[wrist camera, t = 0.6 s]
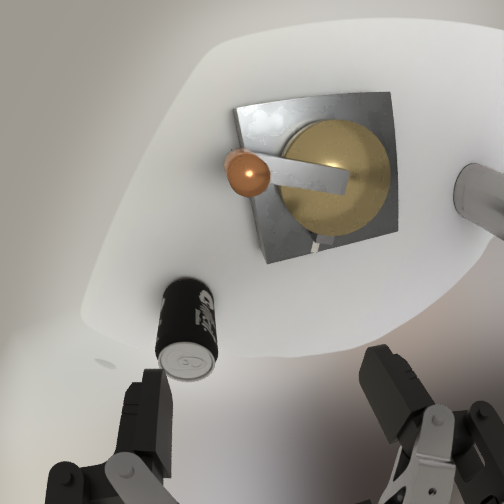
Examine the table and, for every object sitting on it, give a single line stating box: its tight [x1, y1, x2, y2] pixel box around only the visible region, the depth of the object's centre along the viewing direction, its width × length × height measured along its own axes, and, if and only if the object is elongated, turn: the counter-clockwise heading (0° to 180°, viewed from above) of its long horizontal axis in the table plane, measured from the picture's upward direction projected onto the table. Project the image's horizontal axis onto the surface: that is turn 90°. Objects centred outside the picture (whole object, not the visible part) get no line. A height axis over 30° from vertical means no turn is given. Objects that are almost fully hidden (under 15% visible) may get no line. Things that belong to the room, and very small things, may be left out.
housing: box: [233, 92, 398, 264], centre depth 32 cm, size 17×17×4 cm
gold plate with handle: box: [224, 119, 391, 245], centre depth 27 cm, size 18×13×8 cm
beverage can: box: [155, 280, 218, 382], centre depth 34 cm, size 7×7×12 cm
